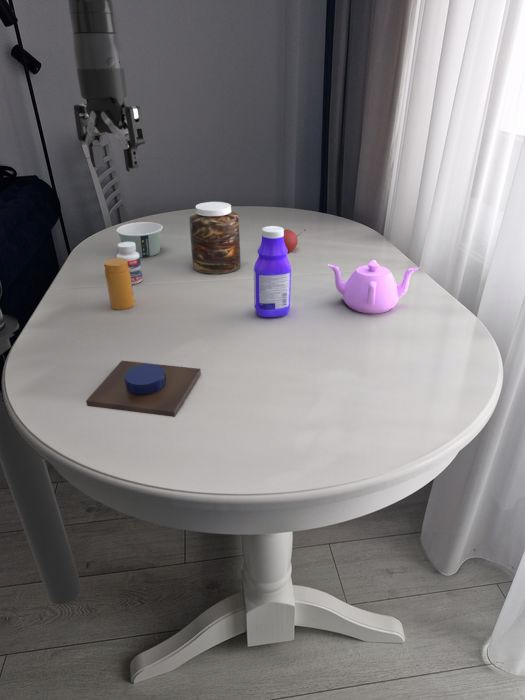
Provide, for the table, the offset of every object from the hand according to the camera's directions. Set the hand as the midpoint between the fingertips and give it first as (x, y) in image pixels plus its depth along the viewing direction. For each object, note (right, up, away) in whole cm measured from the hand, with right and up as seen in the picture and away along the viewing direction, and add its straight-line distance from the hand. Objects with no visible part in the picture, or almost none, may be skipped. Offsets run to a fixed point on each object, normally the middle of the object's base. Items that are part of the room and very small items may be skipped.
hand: (115, 168), depth 92 cm
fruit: (+34, -6, +47) cm, 58 cm away
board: (+8, -39, -12) cm, 41 cm away
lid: (+8, -37, -13) cm, 40 cm away
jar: (+15, -12, +36) cm, 41 cm away
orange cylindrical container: (-3, -23, +16) cm, 28 cm away
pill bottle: (-4, -17, +28) cm, 33 cm away
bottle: (+29, -25, +12) cm, 40 cm away
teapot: (+49, -23, +15) cm, 56 cm away
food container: (-6, -6, +46) cm, 47 cm away
